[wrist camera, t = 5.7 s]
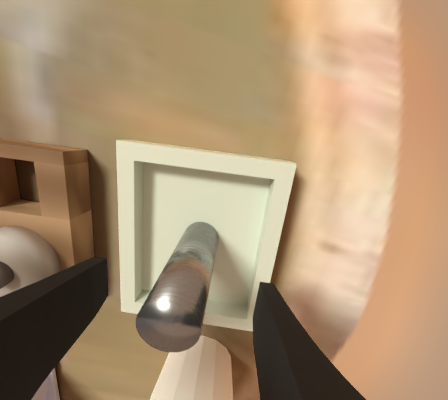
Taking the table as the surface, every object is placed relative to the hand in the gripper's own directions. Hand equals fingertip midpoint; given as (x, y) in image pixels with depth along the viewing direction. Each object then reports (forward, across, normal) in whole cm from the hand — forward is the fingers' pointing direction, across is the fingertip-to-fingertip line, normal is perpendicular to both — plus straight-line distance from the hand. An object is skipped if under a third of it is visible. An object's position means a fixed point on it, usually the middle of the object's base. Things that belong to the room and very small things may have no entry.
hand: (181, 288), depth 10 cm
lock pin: (+5, 0, 0) cm, 5 cm away
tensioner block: (+5, +12, 0) cm, 13 cm away
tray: (+5, 0, 0) cm, 5 cm away
